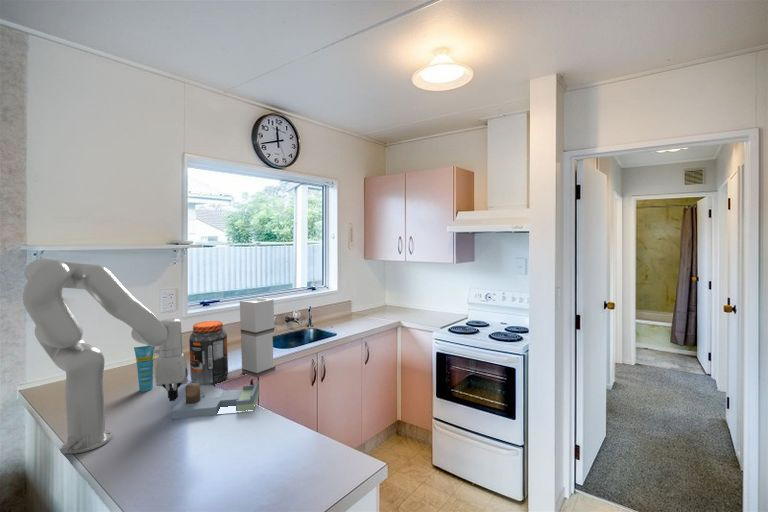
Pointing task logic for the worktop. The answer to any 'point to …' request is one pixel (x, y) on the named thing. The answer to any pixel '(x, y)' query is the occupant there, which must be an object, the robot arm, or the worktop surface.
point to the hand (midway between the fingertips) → (173, 399)
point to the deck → (218, 402)
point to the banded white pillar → (257, 336)
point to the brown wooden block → (192, 393)
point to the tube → (145, 366)
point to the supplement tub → (208, 352)
